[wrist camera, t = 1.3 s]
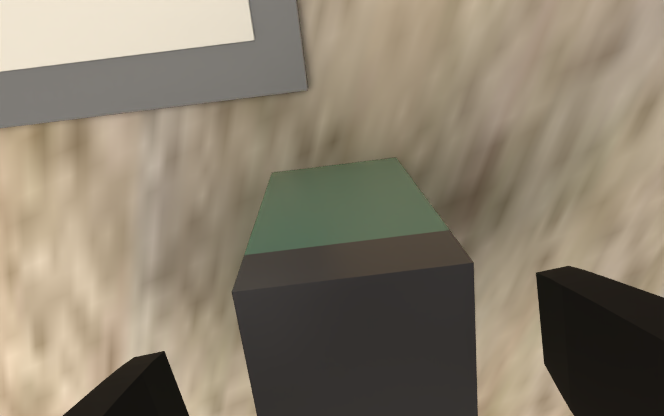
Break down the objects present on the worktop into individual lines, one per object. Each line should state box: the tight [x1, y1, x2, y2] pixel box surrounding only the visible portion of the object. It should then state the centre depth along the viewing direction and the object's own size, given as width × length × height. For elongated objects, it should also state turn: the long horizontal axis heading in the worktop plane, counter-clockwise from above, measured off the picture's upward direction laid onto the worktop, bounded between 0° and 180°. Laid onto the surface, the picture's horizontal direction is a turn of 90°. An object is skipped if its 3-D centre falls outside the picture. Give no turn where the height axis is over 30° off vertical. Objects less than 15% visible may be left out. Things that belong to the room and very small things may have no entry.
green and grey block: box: [232, 158, 478, 416], centre depth 12 cm, size 4×4×8 cm
